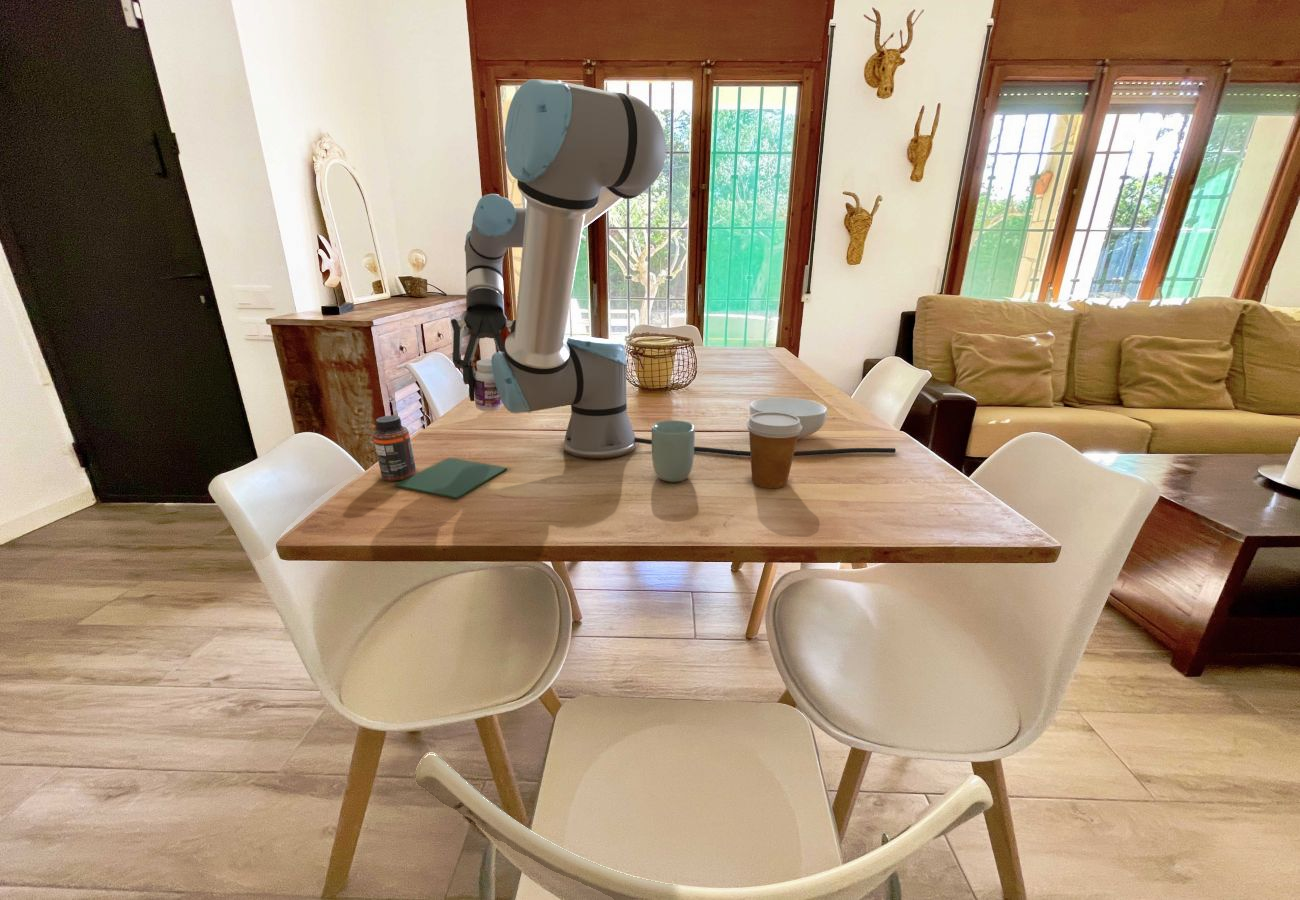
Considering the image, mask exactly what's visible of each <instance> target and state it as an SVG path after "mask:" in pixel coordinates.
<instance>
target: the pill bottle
mask: <svg viewBox="0 0 1300 900" xmlns="http://www.w3.org/2000/svg"><path fill="white" fill-rule="evenodd" d="M491 360H492V359H479V360H477V361H476V363H475V364H476V371H474V397H475V401H474V403H475V408H476V409H477V410H479V411H482V412H495V411H498V410H500V409H501V408H503V403H502V401H501V399H500V396H499V394H498V391H497V388H496V384H495V381H494V376H493V371H492V362H491Z"/></svg>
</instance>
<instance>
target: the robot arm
mask: <svg viewBox="0 0 1300 900" xmlns="http://www.w3.org/2000/svg"><path fill="white" fill-rule="evenodd" d="M504 128H505V129H504V141H503V142H504V146H505V152H504V155H505V156H504V157H505V162H506V163H505V164H506V166H507V169H508V172H509V173H510V175H511V176H512V177H513V178H514V179H515V180H517V181H516V183H517V184H516V188H517V189H518V191H519V192H520V194H521V195H522V196H523V197H524V199H525V200H526V207H515V205H514V203H512V201H511V200H510V199H509V198H507V197H504V196H500V194H498V193H487V194H485V195H483V196H481V197H480V199H479V200H478V202H477V204H476V207H475V209H474V212H473V215H472V222H471V229H470V230H469V231H468V232H467V233H466V235H465V240H464V241H465V243H464V253H465V294H466V296H465V297H466V298H465V300H466V301H465V302H466V303H465V305H466V309H465V311H466V313H465V315H464V317H463V319H462V318H461V319H458V320H457V319H456V318H451V320H450V324H451V328H452V331H453V342H452V344H453V345H452V362H453V365H454V368H456V369H462V381H463V384H464V385H468V397H469V400H470V402H475V391H474V373H475V370H474V366H473V365H472V364H473V362H474V357H475V355H476V351H477V349H478V345H479V343H480V340H481V339H486V338H487V339H493V341H494V343H495V346H496V349H497V352H494V353H493V354H492V355H491V359H490V360H491V362H492V371H493V376H494V381H495V384H496V388H497V391H498V394H499V396H500V399H501V401H502V406H503V407H505V409H506V410H507V411H508V412H510V413H512V414H522V413H523V414H524V413H528V414H530V413H532V412H537V411H543V410H544V411H545V410H549V409H555V408H562V407H566V406H570V410H571V411H570V412H571V413H570V417H569V420H568V421H569V422H568V425H567V428H566V432H565V436H564V450H565V451H566V453H568V454H570V455H572V456H574V457H577V458H582V459H588V460H589V459H590V460H606V459H613V458H618V457H622V456H625V455H627V454H630V453H631V452H632V451H634V450H635V449H636V446H637V443H640V444H645V445H651V446H652V439H648V438H644V437H643V438H642V437H637V436H636V434H635V431H634V429H633V426H632V423H631V420H630V417H629V415H628V409H627V406H628V405H627V404H628V403H627V401H628V400H627V399H628V397H627V366H628V363H627V356H626V355H627V353H626V348H625V346H624V345H623V344H622V342H619V341H616V340H613V339H607V338H600V337H593V336H592V337H591V336H569V337H568V338H567V340H566V341H565V335H566V334H565V333H566V328H567V324H568V323H567V322H568V317H569V311H570V305H571V299H572V293H573V288H574V281H575V276H576V269H577V264H578V258H579V252H580V246H581V239H582V236H583V235H582V234H583V229H585V228H586V227H588V226H589V225H590V224H592V223H593V222H594V221H595V220H597V219H598V218H600V217H601V216H602V215H604V214H605V213H606V212H607V211H609V210H610V209H612V208H613V207H614V206H616V205H617V204H618V203H620V202H621V201H622V200H632V199H635V198H637V197H638V196H640V195H642V194H643V193H644V192H646V191H648V190H649V189H650V188H651V187H652V185H654V184H655V182H656V181H657V179H658V178H659V176H660V175H661V173H662V171H663V168H664V166H665V165H664V164H665V161H666V155H667V142H666V141H667V140H666V136H665V132H664V128H663V126H662V124H661V121H660V119H659V117H658V116H657V114H656V113H655V111H654V110H653V109H652V108H651V107H650V106H649V105H647V103H645V102H644V101H642V99H640V98H638V97H637V96H634V95H631V94H627V93H622V92H615V91H611V90H604V89H600V88H594V87H589V86H585V85H580V84H575V83H571V82H565V81H563V80H561V79H557V80H555V79H554V80H547V79H537V78H533V79H529V80H527V81H525V82H523V83H522V84H521V85H520V86H519V88H518V90H516V91H515V93H514V95H513V97H512V100H511V101H510V103H509V107H508V111H507V115H506V119H505V127H504ZM508 248H522V250H521V261H520V272H519V280H518V281H519V283H518V293H517V303H516V314H515V319H514V320H510V319H508V318H507V316H506V315H505V301H504V280H503V278H504V277H503V263H504V258H505V256H506V255H505V254H506V253H507V249H508ZM465 327H466V328H468V330H469V331H470V337H469V340H468V344H467V347H466V350H465V353H464V356H463V359H462V332H463V331H464V329H465ZM505 328H507V331H508V332H509V333H510V334H509V335H507V337H506V338H505V340H504V341H503V338H502V336H501V333H502V331H503V330H504V329H505ZM896 450H897V449H896V448H895V447H847V448H846V447H845V448H830V449H828V448H827V449H813V450H812V449H811V450H795V452H794V456H793V457H805V456H806V457H808V456H822V455H823V456H824V455H838V454H861V453H864V454H865V453H867V454H868V453H869V454H870V453H871V454H875V453H877V454H882V453H883V454H896ZM694 452H697V453H711V454H719V455H730V456H739V457H740V456H743V457H751V455H750V450H737V449H726V448H717V447H704V446H695V445H694Z"/></svg>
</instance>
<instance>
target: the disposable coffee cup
mask: <svg viewBox="0 0 1300 900" xmlns="http://www.w3.org/2000/svg"><path fill="white" fill-rule="evenodd" d="M746 427H747V430H748V435H749V451H750V455H751V456H750V470H751V481H752V483H753V484H754V485H756V486H758V487H762V488H766V489H779V488H783V487H785V486H787V484H788V480H789V477H790V473H791V468H792V464H793V459H794V457H795V456H794V452H795V451H796V447H797V443H798V440H799V439H798V435H799V433H800V431H801V430H802V426H801V424H800V419H799V418H798V417H796V416H794V415H791V414H787V413H781V412H759V413H755V414H752V415H751V416H750V415H749V420H748V421H747V422H746Z"/></svg>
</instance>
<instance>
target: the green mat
mask: <svg viewBox="0 0 1300 900" xmlns="http://www.w3.org/2000/svg"><path fill="white" fill-rule="evenodd" d="M507 470H508V467H505V466H499V465H494V464H493V465H492V464H486V463H480V462H476V461H475V462H474V461H470V460H465V459H464V460H462V459H458V458H451V457H449V458H447V459H445V460H443V461H440V462H439V463H436V464H434V465H432V466H430V467H428V468H426V469H424V470H421V471H420V472H417V473H415V474H414V475H413V476H411V477H409V478H407V479H404V480H400V481H398V482H396V483H395V484H393V486H394V487H396V488H400V489H405V490H410V491H415V492H420V493H424V494H430V495H434V496H439V497H444V498H449V499H455V500H458V499H460V498H462V497H464V496H465V495H466V494H468V493H470V492H472V491H473V490H476V489H477V488H478V487H481V486H482V485H484V484H485V483H487V482H489V481H490V480H493V479H494V478H495V477H497V476H499V475H501V474H502V473H504V472H505V471H507Z"/></svg>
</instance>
